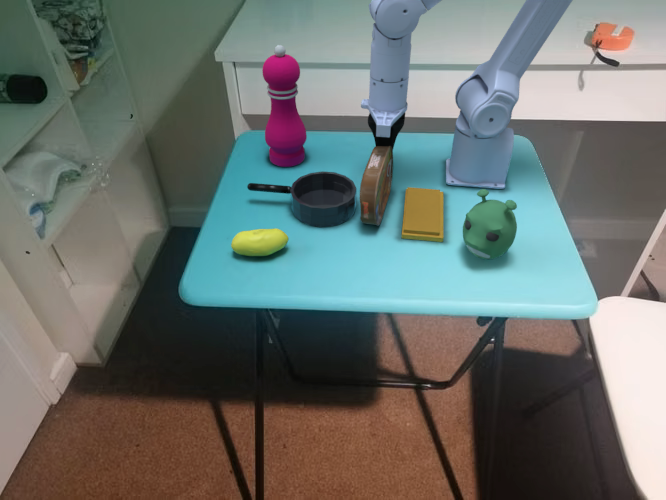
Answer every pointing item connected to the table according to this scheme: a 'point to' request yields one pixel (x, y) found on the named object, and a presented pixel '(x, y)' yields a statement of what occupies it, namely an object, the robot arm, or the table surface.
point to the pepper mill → (283, 110)
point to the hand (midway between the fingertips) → (384, 156)
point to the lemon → (259, 242)
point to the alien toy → (490, 227)
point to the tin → (376, 185)
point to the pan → (323, 199)
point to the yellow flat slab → (423, 215)
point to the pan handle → (269, 188)
